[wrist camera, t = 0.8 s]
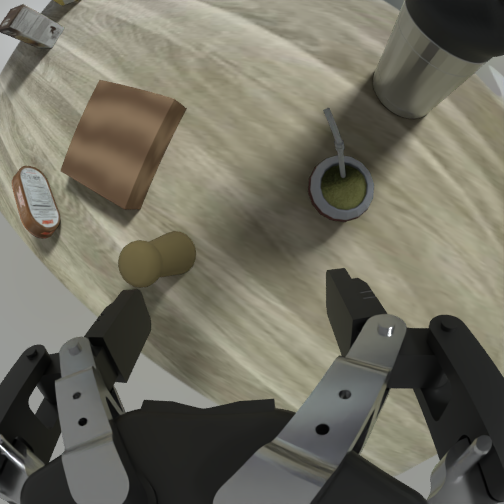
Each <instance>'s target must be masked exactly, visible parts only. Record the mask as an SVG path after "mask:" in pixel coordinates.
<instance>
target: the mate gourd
mask: <svg viewBox="0 0 504 504" xmlns="http://www.w3.org/2000/svg"><path fill="white" fill-rule="evenodd" d="M323 111H324V114H325V116H326V118H327V121H328V123H329V125H330V128H331V130H332V133H333V136H334V138H335V141H334V143H335V148H336V150H337V152H338V155H337V156H333V157H330V158H326V159H324V160H323V161H322V162H321V163H319V164H318V165H317V166H316V167H315V168H314V170H313V172H312V174H311V176H310V178H309V186H308V193H309V196H310V199H311V202H312V205H313V206H314V207H315V208H316V209H317V211H318V212H319V213H320V214H321V215H323V216H324V217H326V218H328V219H330V220H332V221H340V222H346V221H350V220H353V219H356V218H358V217H359V216H360V215H362V214H363V213H364V212H365V211H366V210H367V209H368V207H369V205H370V203H371V201H372V199H373V193H374V183H373V180H372V177H371V174H370V172H369V171H368V170H367V168H366V167H365V166H364V165H363V164H362V163H361V162H359V161H358V160H356V159H354V158H352V157H349V156H344V153H343V150H344V142H343V140H342V139H341V136H340V133H339V130H338V127H337V125H336V123H335V120H334V118H333V115H332V113H331V111H330V108H327V109H324V110H323Z"/></svg>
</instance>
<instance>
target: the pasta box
mask: <svg viewBox="0 0 504 504" xmlns="http://www.w3.org/2000/svg"><path fill="white" fill-rule="evenodd" d="M54 1H55V2H57V3H59V4H60V5H62V6H63V5H66V4H68V3H71V2H74V1H77V0H54Z"/></svg>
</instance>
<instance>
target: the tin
mask: <svg viewBox="0 0 504 504" xmlns="http://www.w3.org/2000/svg"><path fill="white" fill-rule="evenodd" d="M12 188H13V192H14V196H15V200H16V204H17V208H18V211H19V215H20V218H21V221H22V223H23V225H24V227H25V228H26V229H27V230H28V231H29V232H30V233H31V234H32V235H34V236H35V237H38V238H48V237H50V236H51V235H52V234H53V232H54V231H55V230H56V229H57V227H58V226H59V223H60V214H59V211H58V208H57V206H56V203H55V200H54V197H53V194H52V192H51V189H50V186H49V183H48V180H47V178H46V177H45V175H44V174H43V173H42V172H41V171H40V170H39V169H37V168H35V167H31V166H23V167H21V168H20V169H19V171H18V172H17V173H16V175H15V176H14V177H13V179H12Z"/></svg>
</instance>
